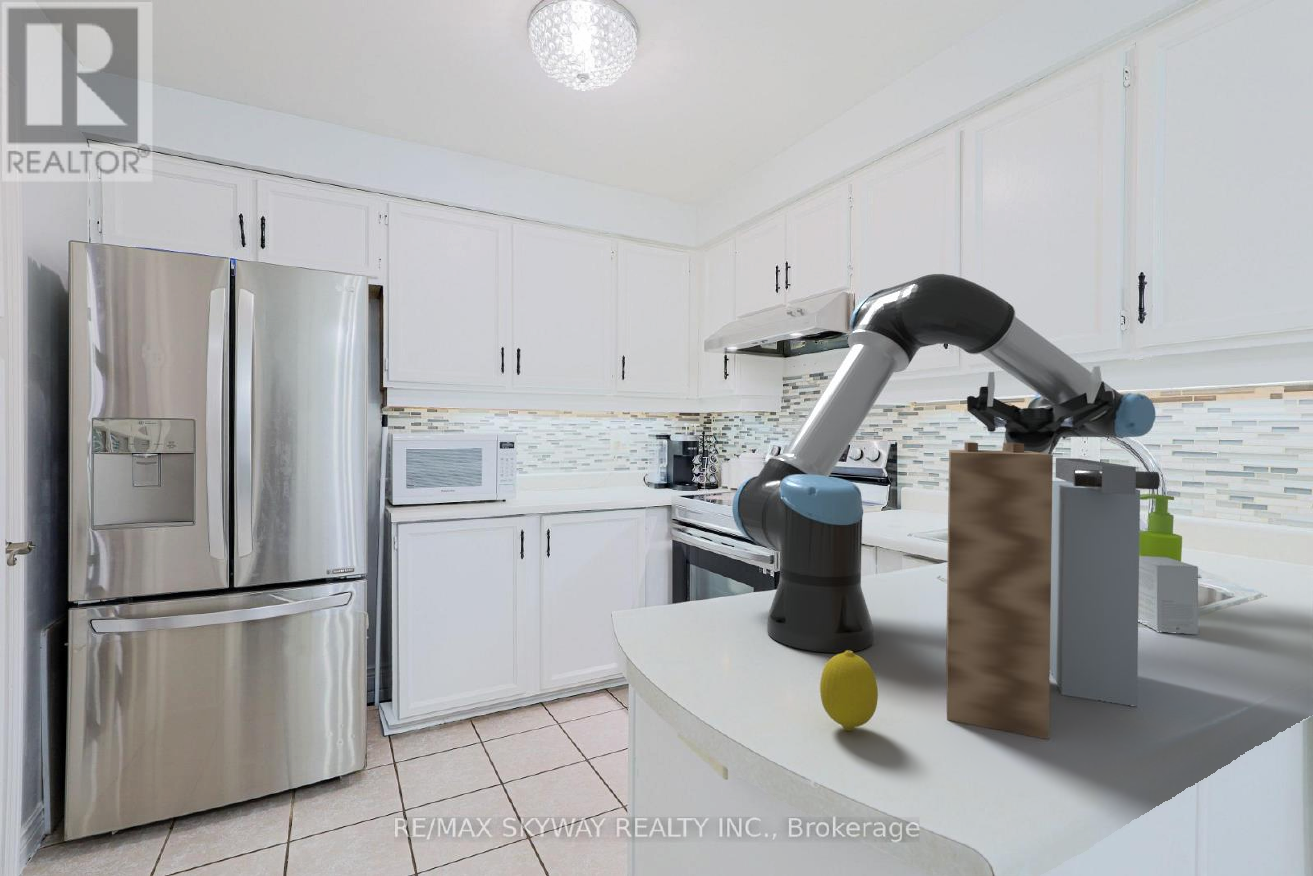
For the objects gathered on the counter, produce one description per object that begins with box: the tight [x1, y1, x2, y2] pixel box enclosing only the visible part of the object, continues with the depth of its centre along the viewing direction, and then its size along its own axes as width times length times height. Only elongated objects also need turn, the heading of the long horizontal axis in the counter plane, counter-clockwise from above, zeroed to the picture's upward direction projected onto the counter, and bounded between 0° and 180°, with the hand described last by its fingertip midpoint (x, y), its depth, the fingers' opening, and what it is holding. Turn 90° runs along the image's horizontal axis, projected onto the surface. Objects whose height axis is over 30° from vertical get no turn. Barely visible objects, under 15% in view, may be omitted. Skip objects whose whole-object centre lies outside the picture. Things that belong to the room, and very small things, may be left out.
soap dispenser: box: [1139, 493, 1183, 562], centre depth 105 cm, size 6×7×20 cm
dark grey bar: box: [1055, 457, 1161, 494], centre depth 74 cm, size 7×28×3 cm, turn 155°
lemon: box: [819, 650, 879, 732], centre depth 60 cm, size 6×6×8 cm
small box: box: [1138, 556, 1199, 635], centre depth 96 cm, size 8×6×10 cm
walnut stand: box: [945, 441, 1054, 740], centre depth 69 cm, size 9×18×29 cm, turn 155°
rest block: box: [1050, 480, 1141, 707], centre depth 73 cm, size 7×12×24 cm, turn 154°
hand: (1043, 376), depth 93 cm, fingers open, 13 cm apart
